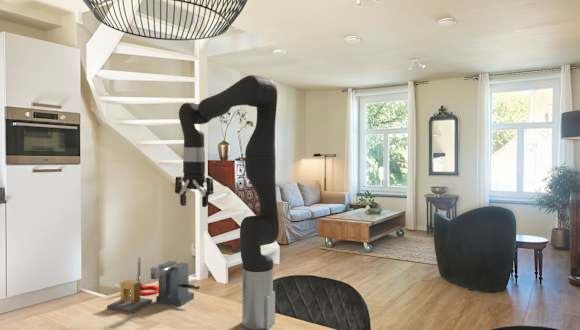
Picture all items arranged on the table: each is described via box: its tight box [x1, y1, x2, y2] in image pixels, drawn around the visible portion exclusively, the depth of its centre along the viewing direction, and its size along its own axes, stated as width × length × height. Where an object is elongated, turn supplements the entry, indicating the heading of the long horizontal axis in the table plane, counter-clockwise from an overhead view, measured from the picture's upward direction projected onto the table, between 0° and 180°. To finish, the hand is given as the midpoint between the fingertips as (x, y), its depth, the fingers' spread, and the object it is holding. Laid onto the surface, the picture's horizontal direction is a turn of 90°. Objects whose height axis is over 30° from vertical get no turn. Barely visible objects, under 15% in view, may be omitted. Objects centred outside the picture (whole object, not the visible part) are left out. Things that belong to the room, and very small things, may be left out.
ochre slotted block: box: [120, 279, 141, 305], centre depth 138 cm, size 5×3×7 cm, turn 71°
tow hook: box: [135, 256, 159, 296], centre depth 152 cm, size 8×13×9 cm
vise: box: [150, 260, 200, 307], centre depth 139 cm, size 15×16×14 cm
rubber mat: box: [106, 295, 153, 314], centre depth 138 cm, size 10×10×1 cm
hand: (194, 206), depth 145 cm, fingers open, 8 cm apart
